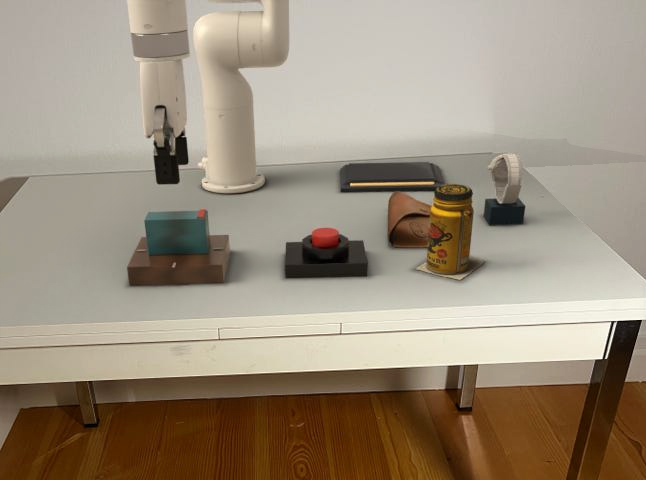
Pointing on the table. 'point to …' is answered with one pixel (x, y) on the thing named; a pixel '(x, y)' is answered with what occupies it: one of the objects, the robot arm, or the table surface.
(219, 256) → the base
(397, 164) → the wallet
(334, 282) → the table surface
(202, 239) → the teal rectangular block
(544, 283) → the table surface
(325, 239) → the button
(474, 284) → the table surface
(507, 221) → the watch
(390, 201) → the sunglasses case
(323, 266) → the button box
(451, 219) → the condiment
